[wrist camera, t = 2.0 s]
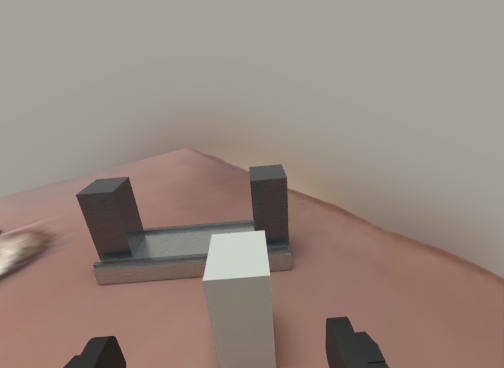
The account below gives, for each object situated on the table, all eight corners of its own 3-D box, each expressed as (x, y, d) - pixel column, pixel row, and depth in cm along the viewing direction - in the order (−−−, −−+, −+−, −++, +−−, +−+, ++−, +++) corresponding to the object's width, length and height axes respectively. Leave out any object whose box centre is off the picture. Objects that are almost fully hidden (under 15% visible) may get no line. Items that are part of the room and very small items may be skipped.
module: (220, 375, 24) (202, 280, 20) (225, 317, 30) (212, 233, 25) (276, 370, 24) (270, 275, 20) (270, 313, 30) (264, 229, 25)
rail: (98, 284, 36) (65, 202, 31) (126, 244, 44) (103, 174, 39) (291, 269, 36) (289, 184, 31) (282, 232, 44) (279, 160, 39)
